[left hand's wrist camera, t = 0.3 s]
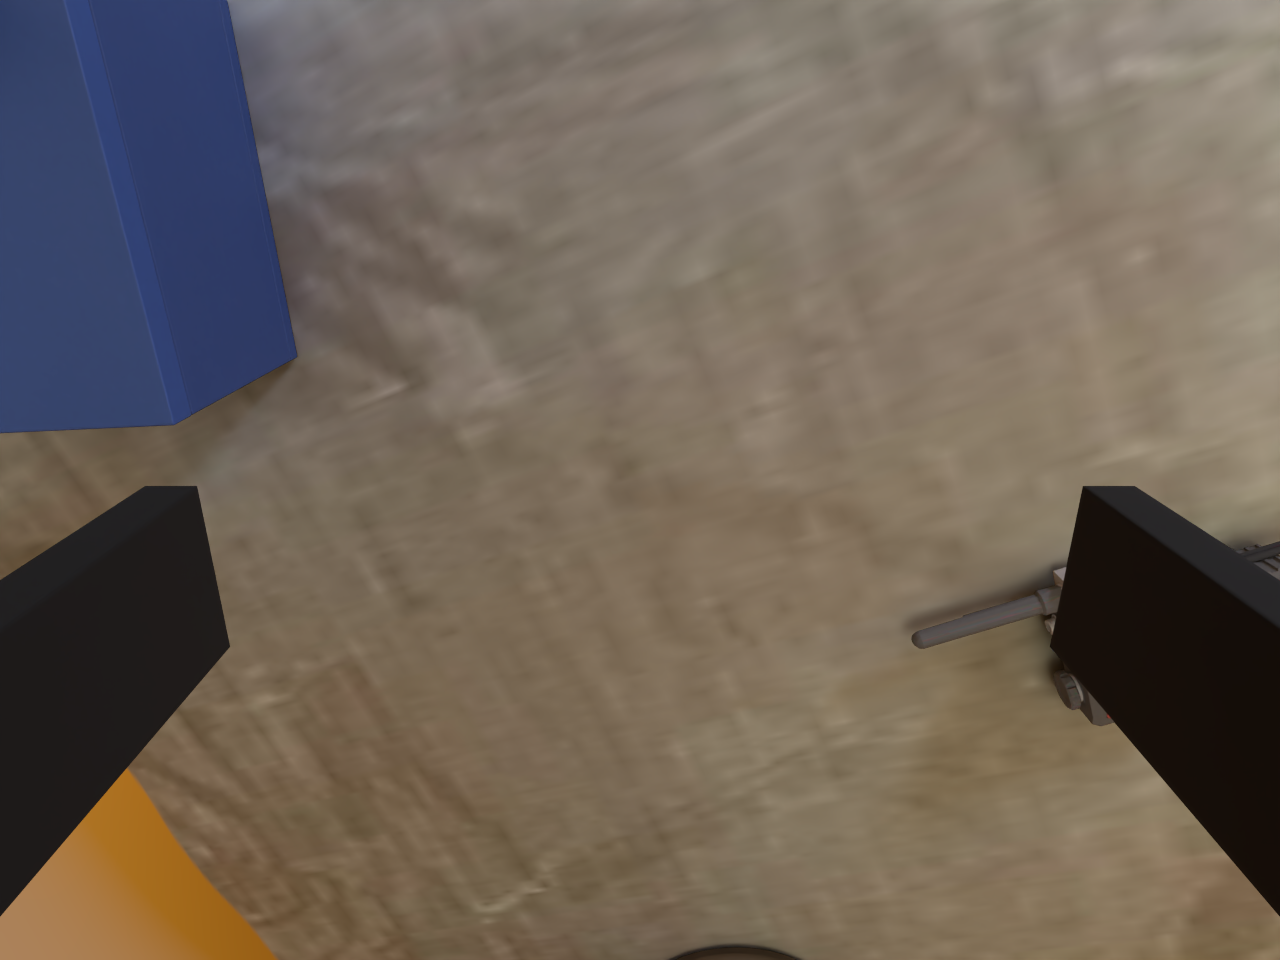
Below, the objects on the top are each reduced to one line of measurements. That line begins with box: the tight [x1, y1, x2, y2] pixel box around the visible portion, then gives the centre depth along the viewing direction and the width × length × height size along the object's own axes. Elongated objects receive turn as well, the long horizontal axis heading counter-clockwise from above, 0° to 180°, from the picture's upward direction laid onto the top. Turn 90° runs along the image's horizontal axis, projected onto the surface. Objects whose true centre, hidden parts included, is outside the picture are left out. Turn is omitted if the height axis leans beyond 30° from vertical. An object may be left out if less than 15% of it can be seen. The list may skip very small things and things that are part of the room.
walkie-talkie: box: [912, 541, 1280, 726], centre depth 42 cm, size 9×4×20 cm
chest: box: [88, 0, 297, 415], centre depth 32 cm, size 15×10×10 cm, turn 3°
